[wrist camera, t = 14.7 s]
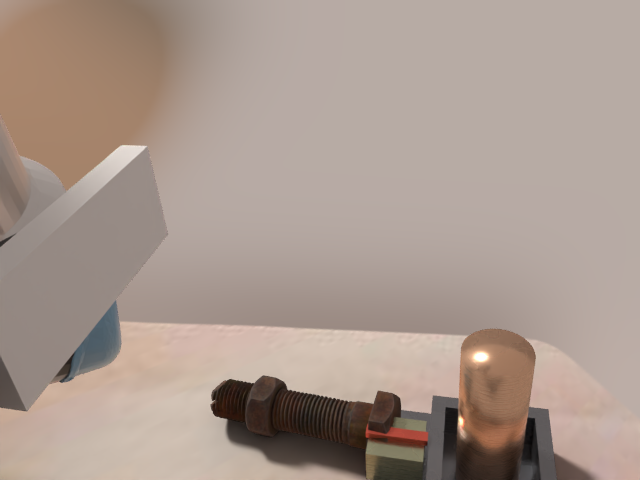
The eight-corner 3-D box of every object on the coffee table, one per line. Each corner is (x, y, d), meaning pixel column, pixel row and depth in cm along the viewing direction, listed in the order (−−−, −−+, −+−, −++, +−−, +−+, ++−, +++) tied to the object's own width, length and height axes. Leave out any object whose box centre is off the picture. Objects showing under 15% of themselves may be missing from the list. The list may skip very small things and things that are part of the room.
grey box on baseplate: (356, 527, 42) (354, 488, 39) (376, 415, 50) (376, 378, 47) (552, 560, 39) (563, 521, 37) (539, 436, 47) (547, 398, 45)
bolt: (229, 420, 53) (398, 455, 48) (200, 441, 48) (384, 483, 43) (233, 355, 52) (404, 384, 47) (204, 370, 47) (390, 404, 43)
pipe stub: (455, 498, 42) (461, 376, 35) (455, 446, 45) (460, 327, 39) (520, 506, 41) (539, 381, 35) (516, 452, 45) (531, 331, 38)
